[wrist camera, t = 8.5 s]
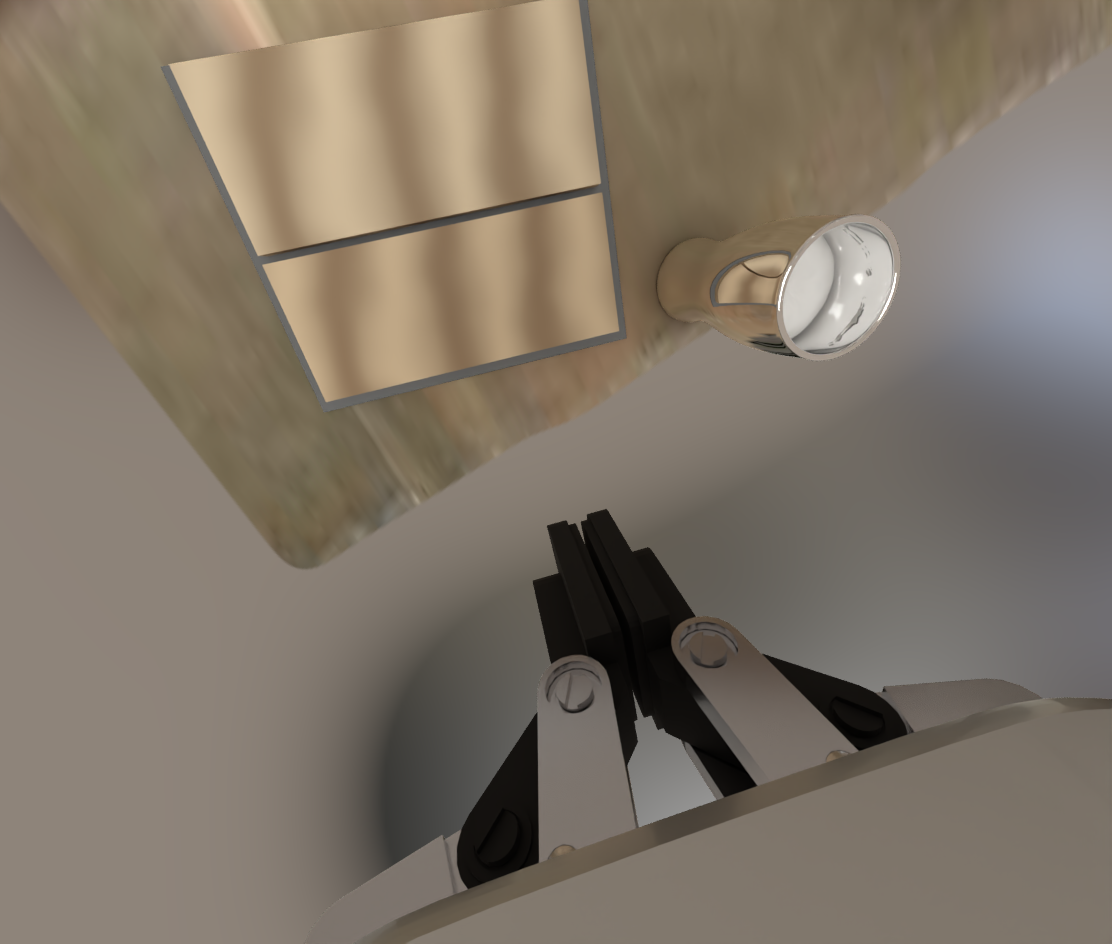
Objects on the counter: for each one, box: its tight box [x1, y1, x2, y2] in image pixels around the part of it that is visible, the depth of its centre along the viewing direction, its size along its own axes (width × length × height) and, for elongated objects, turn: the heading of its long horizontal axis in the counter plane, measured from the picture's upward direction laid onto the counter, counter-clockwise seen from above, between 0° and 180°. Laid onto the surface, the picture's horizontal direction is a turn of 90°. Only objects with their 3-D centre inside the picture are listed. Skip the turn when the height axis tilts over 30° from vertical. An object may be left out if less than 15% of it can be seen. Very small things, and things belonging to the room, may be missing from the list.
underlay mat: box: [161, 0, 626, 412], centre depth 29 cm, size 24×20×1 cm
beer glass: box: [657, 214, 901, 361], centre depth 27 cm, size 7×7×15 cm
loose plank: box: [262, 192, 619, 402], centre depth 30 cm, size 22×9×2 cm, turn 102°
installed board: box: [169, 0, 601, 256], centre depth 26 cm, size 22×9×2 cm, turn 102°
